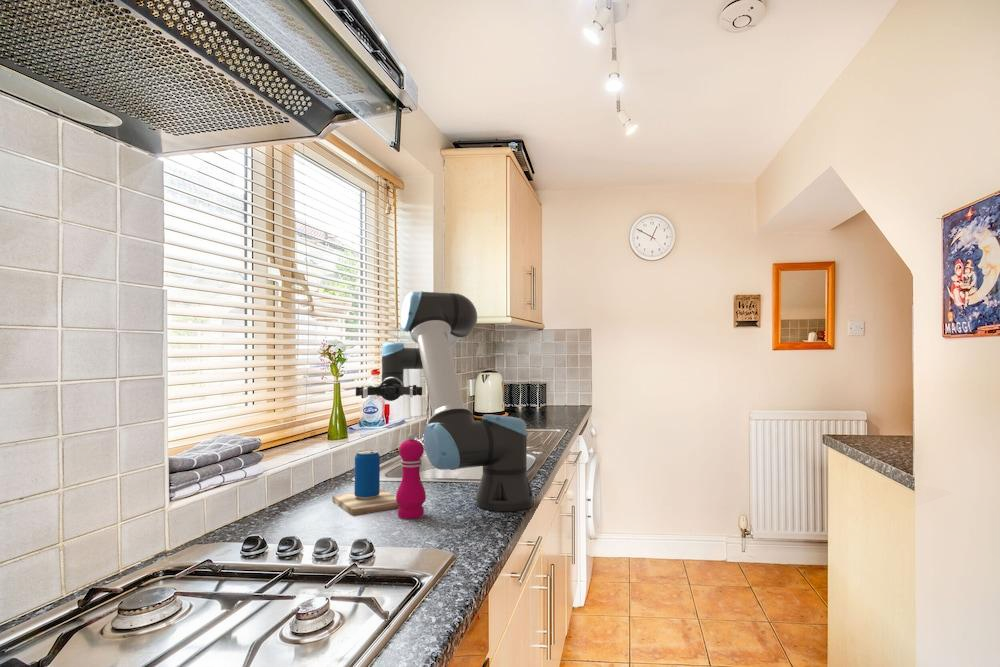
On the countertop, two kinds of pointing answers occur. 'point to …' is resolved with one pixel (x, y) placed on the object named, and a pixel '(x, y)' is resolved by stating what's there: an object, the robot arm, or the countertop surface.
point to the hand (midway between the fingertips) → (387, 393)
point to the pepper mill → (411, 480)
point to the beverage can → (367, 474)
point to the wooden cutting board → (366, 502)
